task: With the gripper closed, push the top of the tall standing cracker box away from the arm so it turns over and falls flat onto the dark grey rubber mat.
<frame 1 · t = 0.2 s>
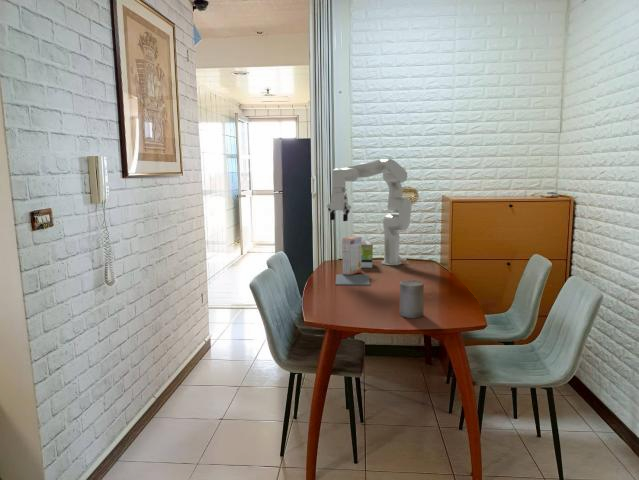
hand: (338, 220, 270), 31 cm above the table, tool pointing down, fingers open, 9 cm apart
pillar candle: (411, 315, 194), on the table
mat: (352, 280, 256), on the table
cracker box: (351, 273, 271), on the table, touching mat
tea box: (363, 265, 295), on the table
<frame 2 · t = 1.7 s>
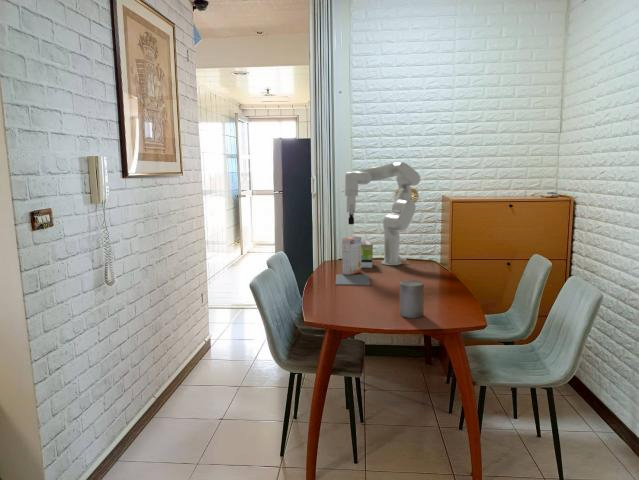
hand: (351, 224, 279), 28 cm above the table, tool pointing down, fingers closed
nothing on the table moved.
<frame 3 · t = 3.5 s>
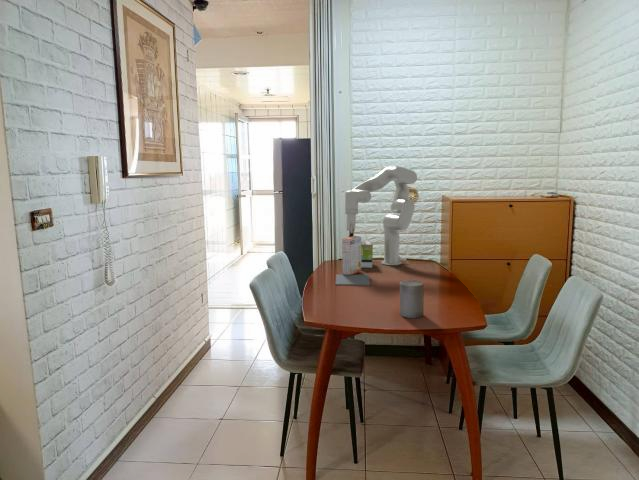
hand: (351, 242, 279), 17 cm above the table, tool pointing down, fingers closed
cracker box: (351, 273, 271), on the table, touching mat
everything else where it was.
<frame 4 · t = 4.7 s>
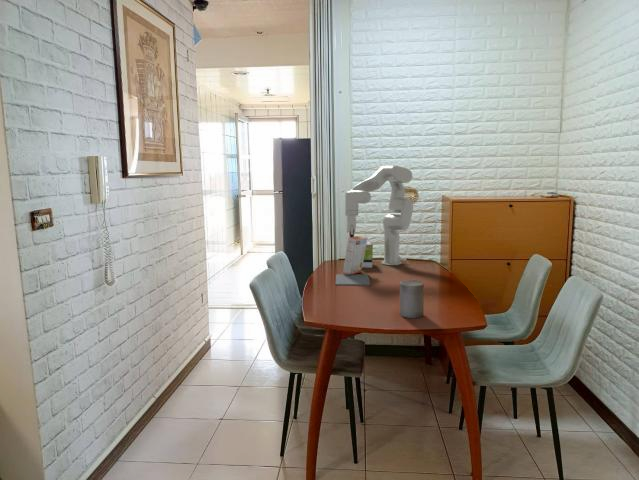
hand: (351, 244, 272), 17 cm above the table, tool pointing down, fingers closed
cracker box: (351, 272, 271), point 1 cm above the table, touching mat
everything else where it was.
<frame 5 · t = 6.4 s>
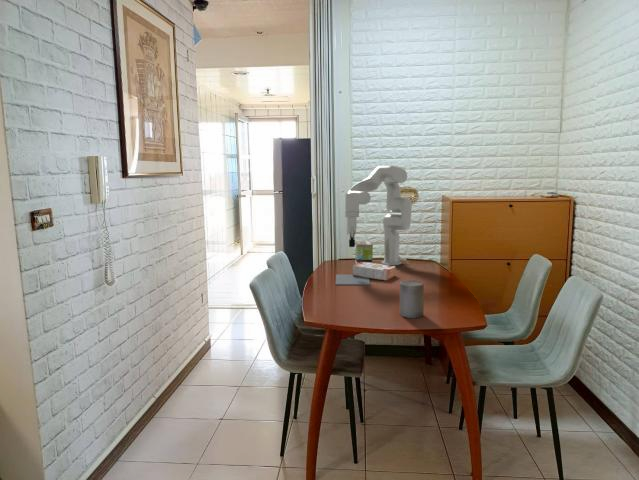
hand: (352, 246, 264), 17 cm above the table, tool pointing down, fingers closed
cracker box: (356, 267, 269), point 4 cm above the table, touching mat
everything else where it was.
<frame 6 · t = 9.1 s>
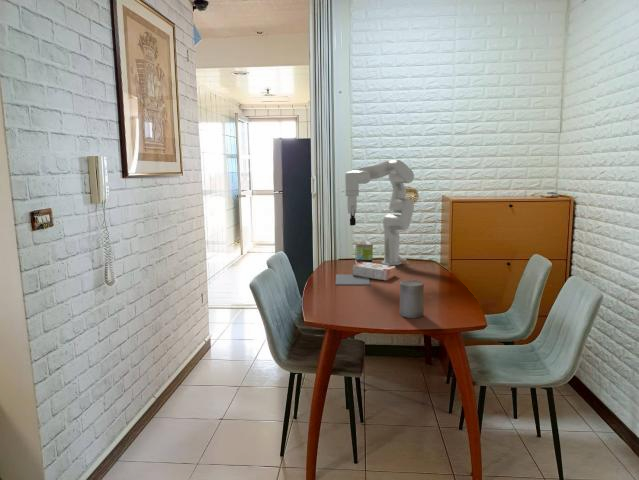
hand: (352, 225, 271), 28 cm above the table, tool pointing down, fingers closed
nothing on the table moved.
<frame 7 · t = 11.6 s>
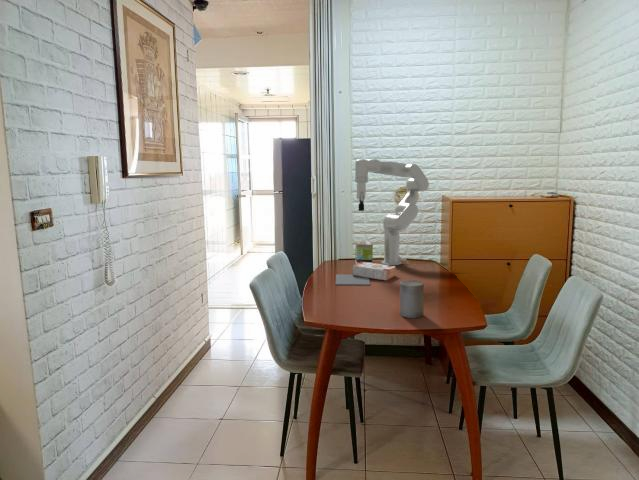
hand: (361, 210, 284), 35 cm above the table, tool pointing down, fingers closed
nothing on the table moved.
at the end: cracker box tilted 93°; cracker box touching mat, table; cracker box inside the target area (11.8 cm from its centre), point 3.9 cm above the table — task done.
